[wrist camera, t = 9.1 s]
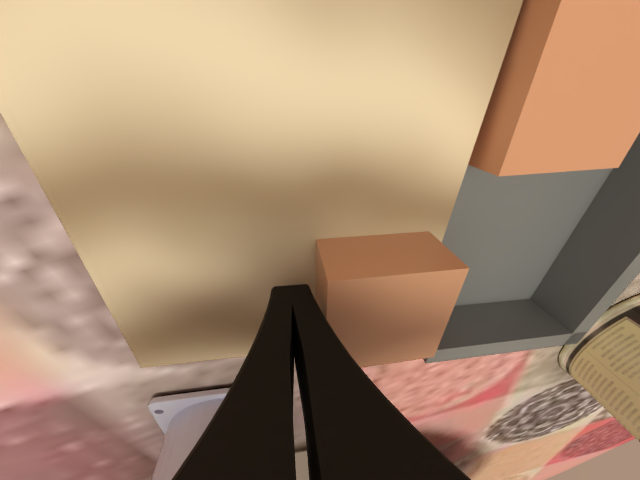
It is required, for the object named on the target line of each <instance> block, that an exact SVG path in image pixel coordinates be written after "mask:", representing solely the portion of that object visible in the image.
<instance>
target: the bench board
mask: <svg viewBox="0 0 640 480" xmlns="http://www.w3.org/2000/svg"><path fill="white" fill-rule="evenodd" d="M522 3H523V0H0V113H1V114H2V116H3V118H4V120H5V122H6V123H7V125H8V127H9V129H10V131H11V133H12V134H13V136H14V138H15V140H16V142H17V143H18V145H19V147H20V149H21V151H22V153H23V154H24V156H25V158H26V160H27V162H28V163H29V165H30V167H31V169H32V171H33V172H34V174H35V176H36V178H37V180H38V182H39V183H40V185H41V187H42V189H43V191H44V192H45V194H46V196H47V198H48V200H49V202H50V203H51V205H52V207H53V209H54V211H55V212H56V214H57V216H58V218H59V220H60V222H61V223H62V225H63V227H64V229H65V231H66V232H67V234H68V236H69V238H70V240H71V242H72V243H73V245H74V247H75V249H76V251H77V252H78V254H79V256H80V258H81V260H82V262H83V263H84V265H85V267H86V269H87V271H88V272H89V274H90V276H91V278H92V280H93V281H94V283H95V285H96V287H97V289H98V291H99V292H100V294H101V296H102V298H103V300H104V301H105V303H106V305H107V307H108V309H109V311H110V312H111V314H112V316H113V318H114V320H115V321H116V323H117V325H118V327H119V329H120V331H121V332H122V334H123V336H124V338H125V340H126V341H127V343H128V345H129V347H130V349H131V351H132V352H133V354H134V356H135V358H136V360H137V361H138V363H139V365H140V367H141V368H145V367H153V366H162V365H171V364H180V363H189V362H198V361H207V360H215V359H224V358H233V357H242V356H247V355H248V352H249V350H250V348H251V346H252V344H253V342H254V340H255V337H256V335H257V333H258V330H259V328H260V325H261V323H262V320H263V318H264V315H265V312H266V309H267V306H268V303H269V299H270V295H271V289H272V288H273V287H274V286H287V285H299V284H307V285H309V286H310V289H311V292H312V294H313V296H314V298H315V300H316V239H327V238H341V237H355V236H369V235H384V234H398V233H412V232H426V231H429V232H430V233H432V234H433V235H434V236H435V237H436V238H437V239H438V240H439V241H440V242H441V243H442V240H443V237H444V234H445V231H446V228H447V225H448V222H449V219H450V216H451V213H452V210H453V207H454V204H455V201H456V198H457V195H458V193H459V190H460V187H461V184H462V181H463V178H464V175H465V172H466V169H467V166H468V163H469V160H470V157H471V154H472V151H473V148H474V145H475V142H476V139H477V136H478V133H479V130H480V127H481V124H482V121H483V118H484V116H485V113H486V110H487V107H488V104H489V101H490V98H491V95H492V92H493V89H494V86H495V83H496V80H497V77H498V74H499V71H500V68H501V65H502V62H503V59H504V56H505V53H506V50H507V47H508V44H509V42H510V39H511V36H512V33H513V30H514V27H515V24H516V21H517V18H518V15H519V12H520V9H521V6H522Z"/></svg>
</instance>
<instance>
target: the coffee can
mask: <svg viewBox="0 0 640 480" xmlns="http://www.w3.org/2000/svg"><path fill="white" fill-rule="evenodd" d="M559 364H560V367H561V368H562V369H564V370H565V371H566V372H568V373H569V374H570V375H571V376H572V377H573V378H574V379H575V380H576V381H577V382H578V383H579V384H581V385H582V386H583V387H584V388H585V389H586V390H587V391H588V392H589V393H590V394H591V395H592V396H593V397H594V398H595V399H596V400H597V401H598V402H599V403H600V404H601V405H602V406H603V407H604V408H605V409H606V410H607V411H608V412H609V413H610V414H611V415H612V416H613V417H614V418H616V419H617V420H618V421H619V422H620V423H621V424H622V425H623V426H624V427H625V428H626V429H627V430H628V431H629V432H630V433H631V434H632V435H633V436H634V437H635V438H636V439H637V440H638V441H639V442H640V294H639V295H636V296H634V297H631V298H629V299H626V300H624V301H622V302H620V303H618V304H616V305H614V306H612V307H610V308H608V309H607V310H606V312H605V313H604V314H603V315H602V316H601V317H600V318H599V320H598V321H597V322H596V323H595V324H594V325H593V326H592V328H591V329H590V330H589V331H588V332H587V333H586V334H585V335H584V337H583V338H582V339H581V340H580V341H579V342H578V343H577V344H570V345H564V347H563V348H562V350H561V352H560V354H559Z"/></svg>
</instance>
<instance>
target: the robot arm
mask: <svg viewBox="0 0 640 480" xmlns="http://www.w3.org/2000/svg"><path fill="white" fill-rule="evenodd" d="M294 358H295V365H296V371H297V377H298V383H299V390H300V396H301V402H302V408H303V415H304V423H305V431H306V444H307V456H308V467H309V480H471V479H470V478H469V477H467V476H466V475H465V474H464V473H463V472H462V471H461V470H460V469H458V468H457V467H456V466H455V465H454V464H453V463H452V462H451V461H450V460H449V459H447V458H446V457H445V456H444V455H443V454H442V453H441V452H440V451H439V450H438V449H437V448H436V447H435V446H434V445H433V444H432V443H430V442H429V441H428V440H427V439H426V438H425V437H424V436H423V435H422V434H421V433H420V432H419V431H418V430H417V429H416V428H415V427H414V426H413V425H412V424H411V423H410V422H409V421H408V420H407V419H406V418H405V417H404V416H403V415H402V414H401V413H400V412H399V410H398V409H397V408H396V407H395V406H394V405H393V404H392V403H391V402H390V401H389V400H388V399H387V398H386V397H385V396H384V395H383V394H382V392H381V391H380V390H379V389H378V388H377V387H376V386H375V385H374V383H373V382H372V381H371V380H370V379H369V378H368V376H367V375H366V374H365V373H364V372H363V370H362V369H361V368H360V367H359V365H358V364H357V363H356V362H355V360H354V359H353V358H352V356H351V355H350V354H349V352H348V351H347V350H346V348H345V347H344V345H343V344H342V343H341V341H340V340H339V338H338V337H337V335H336V334H335V332H334V331H333V329H332V328H331V326H330V325H329V323H328V321H327V320H326V318H325V317H324V315H323V313H322V311H321V310H320V308H319V306H318V304H317V302H316V300H315V298H314V296H313V294H312V292H311V289H310V286H309V285H307V284H299V285H287V286H274V287H273V288H272V289H271V295H270V299H269V303H268V306H267V309H266V312H265V315H264V318H263V320H262V323H261V325H260V328H259V330H258V333H257V335H256V337H255V340H254V342H253V344H252V346H251V348H250V350H249V352H248V355H247V357H246V359H245V361H244V363H243V365H242V367H241V369H240V371H239V373H238V375H237V376H236V378H235V380H234V382H233V384H232V386H231V387H230V388H222V389H215V390H207V391H199V392H191V393H184V394H176V395H168V396H161V397H155V398H153V399H151V400H150V402H149V405H148V409H149V410H150V412H151V413H152V415H153V417H154V418H155V420H156V422H157V423H158V425H159V427H160V428H161V430H162V431H163V433H164V435H165V439H164V442H163V445H162V448H161V451H160V455H159V458H158V461H157V464H156V467H155V470H154V474H153V477H152V480H296V470H295V451H294V432H293V385H294Z"/></svg>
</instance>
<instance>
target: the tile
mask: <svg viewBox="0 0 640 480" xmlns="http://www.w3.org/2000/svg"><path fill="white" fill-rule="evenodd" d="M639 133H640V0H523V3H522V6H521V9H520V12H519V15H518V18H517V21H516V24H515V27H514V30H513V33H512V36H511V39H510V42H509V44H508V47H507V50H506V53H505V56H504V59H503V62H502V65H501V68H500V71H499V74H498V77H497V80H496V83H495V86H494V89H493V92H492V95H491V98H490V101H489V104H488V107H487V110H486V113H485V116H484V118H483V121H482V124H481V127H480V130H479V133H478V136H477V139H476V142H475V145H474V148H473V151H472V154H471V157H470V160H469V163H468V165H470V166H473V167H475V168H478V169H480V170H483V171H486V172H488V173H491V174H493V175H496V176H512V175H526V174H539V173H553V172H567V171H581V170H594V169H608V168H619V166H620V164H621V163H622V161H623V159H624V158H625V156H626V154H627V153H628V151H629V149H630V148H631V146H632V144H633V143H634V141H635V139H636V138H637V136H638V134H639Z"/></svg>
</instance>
